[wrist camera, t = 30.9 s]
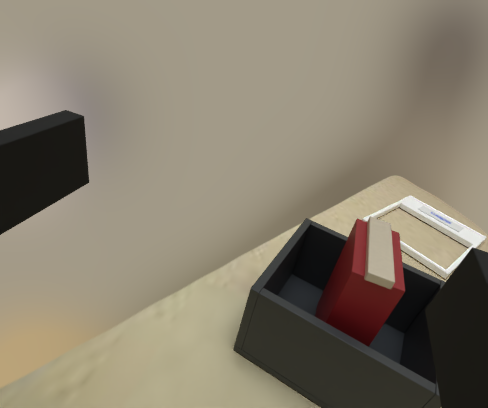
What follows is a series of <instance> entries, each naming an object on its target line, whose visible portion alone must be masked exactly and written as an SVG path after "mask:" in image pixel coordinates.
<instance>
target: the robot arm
mask: <svg viewBox="0 0 488 408" xmlns="http://www.w3.org/2000/svg"><path fill="white" fill-rule="evenodd" d="M87 183H89V175H88V162H87V150H86V137H85V124H84V116H82V115H79V114H76V113H73V112H70V111H67V110H65V111H61V112H58V113H55V114H52V115H49V116H45V117H42V118H39V119H36V120H32V121H29V122H26V123H23V124H19V125H16V126H13V127H10V128H7V129H4V130H0V235H1V234H2V233H4V232H6V231H7V230H9V229H11V228H12V227H14V226H16V225H17V224H19V223H21V222H23V221H24V220H26V219H28V218H30V217H31V216H33V215H35V214H36V213H38V212H40V211H41V210H43V209H45V208H47V207H48V206H50V205H52V204H53V203H55V202H57V201H58V200H60V199H62V198H64V197H65V196H67V195H68V194H70V193H72V192H74V191H75V190H77V189H79V188H80V187H82V186H84V185H86V184H87ZM425 313H426V319H427V324H428V330H429V336H430V342H431V348H432V354H433V360H434V366H435V372H436V377H437V383H438V389H439V395H440V401H441V407H442V408H488V253H487V252H485V251H482V250H479V249H476V248H473V247H472V248H471V250H470V251H469V252H468V254H467V255H466V256H465V258H464V259H463V260H462V261H461V263H460V264H459V265H458V267H457V268H456V269H455V271H454V272H453V273H452V275H451V276H450V277H449V279H448V280H447V281H446V283H445V284H444V285H443V287H442V288H441V289H440V291H439V292H438V293H437V295H436V296H435V297H434V299H433V300H432V301H431V302H430V304H429V305H428V306H427V308H426V309H425Z"/></svg>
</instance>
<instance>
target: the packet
mask: <svg viewBox="0 0 488 408" xmlns="http://www.w3.org/2000/svg"><path fill="white" fill-rule="evenodd" d="M404 292H405V284H404V274H403V265H402V255H401V246H400V236H399V233H397V232H395V231H392V230H391V223H389V222H386V221H383V220H380V219H377V218H374V217H371V216H370V217H369V219H368V221H367V222H365V221H362V220H359V219H357V220H356V222H355V224H354V226H353V228H352V231H351V233H350V235H349V237H348V239H347V241H346V244H345V246H344V248H343V250H342V252H341V254H340V257H339V259H338V261H337V263H336V265H335V267H334V269H333V272H332V274H331V276H330V278H329V280H328V282H327V285H326V287H325V289H324V291H323V293H322V295H321V298H320V300H319V302H318V304H317V309H316V314H315V317H316V318H318V319H320V320H322V321H324V322H325V323H327V324H329V325H331V326H332V327H334V328H336V329H338V330H340V331H341V332H343V333H345V334H347V335H349V336H350V337H352V338H354V339H356V340H357V341H359V342H361V343H363V344H365V345H366V346H368V347H369V346H370V344H371V342H372V341H373V339H374V338H375V336H376V335H377V333H378V332H379V330H380V329H381V327H382V326H383V324H384V323H385V321H386V320H387V318H388V317H389V315H390V314H391V312H392V311H393V309H394V308H395V306H396V305H397V303H398V302H399V300H400V299H401V297H402V295H403V294H404Z"/></svg>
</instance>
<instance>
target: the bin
mask: <svg viewBox="0 0 488 408" xmlns="http://www.w3.org/2000/svg"><path fill="white" fill-rule="evenodd" d="M347 239H348V237H346V236H344V235H342V234H340V233H337V232H335V231H333V230H331V229H329V228H327V227H324V226H322V225H320V224H318V223H316V222H313V221H311V220H309V219H307V218H306V219H305V220H304V222H303V223H302V224H301V226H300V227H299V228H298V229H297V231H296V232H295V233H294V234H293V236H292V237H291V238H290V239H289V241H288V242H287V243H286V244H285V246H284V247H283V248H282V250H281V251H280V252H279V253H278V255H277V256H276V257H275V258H274V260H273V261H272V262H271V263H270V265H269V266H268V267H267V269H266V270H265V271H264V272H263V274H262V275H261V276H260V277H259V279H258V280H257V281H256V282H255V284H254V285H253V286H252V287H251V290H250V293H249V297H248V300H247V303H246V307H245V310H244V314H243V317H242V321H241V324H240V328H239V331H238V335H237V338H236V342H235V345H234V349H233V350H234V351H236V352H237V353H239V354H241V355H242V356H244V357H245V358H247V359H248V360H250V361H251V362H253V363H254V364H256V365H257V366H259V367H260V368H262V369H263V370H265V371H267V372H268V373H270V374H271V375H273V376H274V377H276V378H277V379H279V380H280V381H282V382H283V383H285V384H286V385H288V386H289V387H291V388H292V389H294V390H296V391H297V392H299V393H300V394H302V395H303V396H305V397H306V398H308V399H309V400H311V401H312V402H314V403H315V404H317V405H318V406H320V407H322V408H440V407H441V401H440V395H439V389H438V383H437V377H436V372H435V366H434V360H433V354H432V348H431V342H430V336H429V330H428V324H427V319H426V313H425V309H426V308H427V306H428V305H429V304H430V302H431V301H432V300H433V299H434V297H435V296H436V295H437V293H438V292H439V291H440V289H441V288H442V287H443V285H444V284H445V283H446V282H444V281H442V280H441V281H440V279H437V278H435V277H433V276H431V275H429V274H427V273H424V272H422V271H420V270H418V269H416V268H414V267H411V266H409V265H407V264H405V263H403V262H402V265H403V274H404V284H405V292H404V294H403V295H402V297H401V299H400V300H399V302H398V303H397V305H396V306H395V308H394V309H393V311H392V312H391V314H390V315H389V317H388V318H387V320H386V321H385V323H384V324H383V326H382V327H381V329H380V330H379V332H378V333H377V335H376V336H375V338H374V339H373V341H372V342H371V344H370V346H369V347H368V346H366V345H365V344H363V343H361V342H359V341H357V340H356V339H354V338H352V337H350V336H349V335H347V334H345V333H343V332H341V331H340V330H338V329H336V328H334V327H332V326H331V325H329V324H327V323H325V322H324V321H322V320H320V319H318V318H316V317H315V314H316V309H317V304H318V302H319V300H320V298H321V295H322V293H323V291H324V289H325V287H326V285H327V282H328V280H329V278H330V276H331V274H332V272H333V269H334V267H335V265H336V263H337V261H338V259H339V257H340V254H341V252H342V250H343V248H344V246H345V244H346V241H347Z"/></svg>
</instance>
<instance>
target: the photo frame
mask: <svg viewBox="0 0 488 408" xmlns="http://www.w3.org/2000/svg"><path fill="white" fill-rule="evenodd" d="M398 207H400V208H401V209H403V210H405V211H407V212H408V213H410V214H412V215H413V216H415V217H417V218H419V219H420V220H422V221H424V222H425V223H427V224H429V225H431V226H432V227H434V228H436V229H437V230H439V231H441V232H443V233H444V234H446V235H448V236H449V237H451V238H453V239H455V240H456V241H458V242H460V243H461V244H463V245H465V246H467V247H468V248H469V249H468V250H466V251H465V252H464V253H463V254H462V255H461V256H460V257H459V258H458V259H457V260H456V261H455V262H454V263H453V264H451V265H450V266H449V267H448V268H447V269H446V270H445V269H444V268H442V267H441V266H439V265H438V264H436V263H435V262H433V261H432V260H430V259H428V258H427V257H425V256H424V255H422V254H421V253H419V252H418V251H416V250H415V249H413V248H411V247H410V246H408V245H407V244H405V243H404V242H402V241H401V240H400V246H401V250H402V251H404V252H405V253H407V254H409V255H410V256H412V257H413V258H415V259H416V260H418V261H419V262H421V263H422V264H424V265H425V266H427V267H428V268H430V269H431V270H433V271H434V272H436V273H437V274H439V275H440V276H442V277H443V278H445V279H446V278H447V277H448V276H449V275H450V274H451V273H452V272H453V271H454V270H455V269H456V268H457V267H458V265H459V264H460V263H461V261H462V260H463V259H464V258H465V256H466V255H467V254H468V252H469V251H470V250H471V248H472V247H473V248H477V247H478V246H479V245H480V244H481V243H482V242H483V241H484V240H485V239H486V238H487V237H485V236H484V235H482V234H480V233H478V232H476V231H474V230H473V229H471V228H469V227H467V226H465V225H464V224H462V223H460V222H458V221H456V220H454V219H453V218H451V217H449V216H447V215H445V214H443V213H442V212H440V211H438V210H436V209H434V208H433V207H431V206H429V205H427V204H425V203H423V202H422V201H420V200H418V199H416V198H414V197H412V196H411V195H410V196H408V197H406V198H404V199H402V200H400V201H398V202H396V203H394V204H392V205H389V206H387V207H385V208H383V209H381V210H379V211H377V212H375V213H373V214H371V215H369V216H367V217H365V218H363V219H362V221H365V222H367V221H368V219H369V217H370V216H371V217H374V218H378V217H380V216H382V215H384V214H386V213H388V212H390V211H392V210H394V209H396V208H398Z"/></svg>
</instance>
